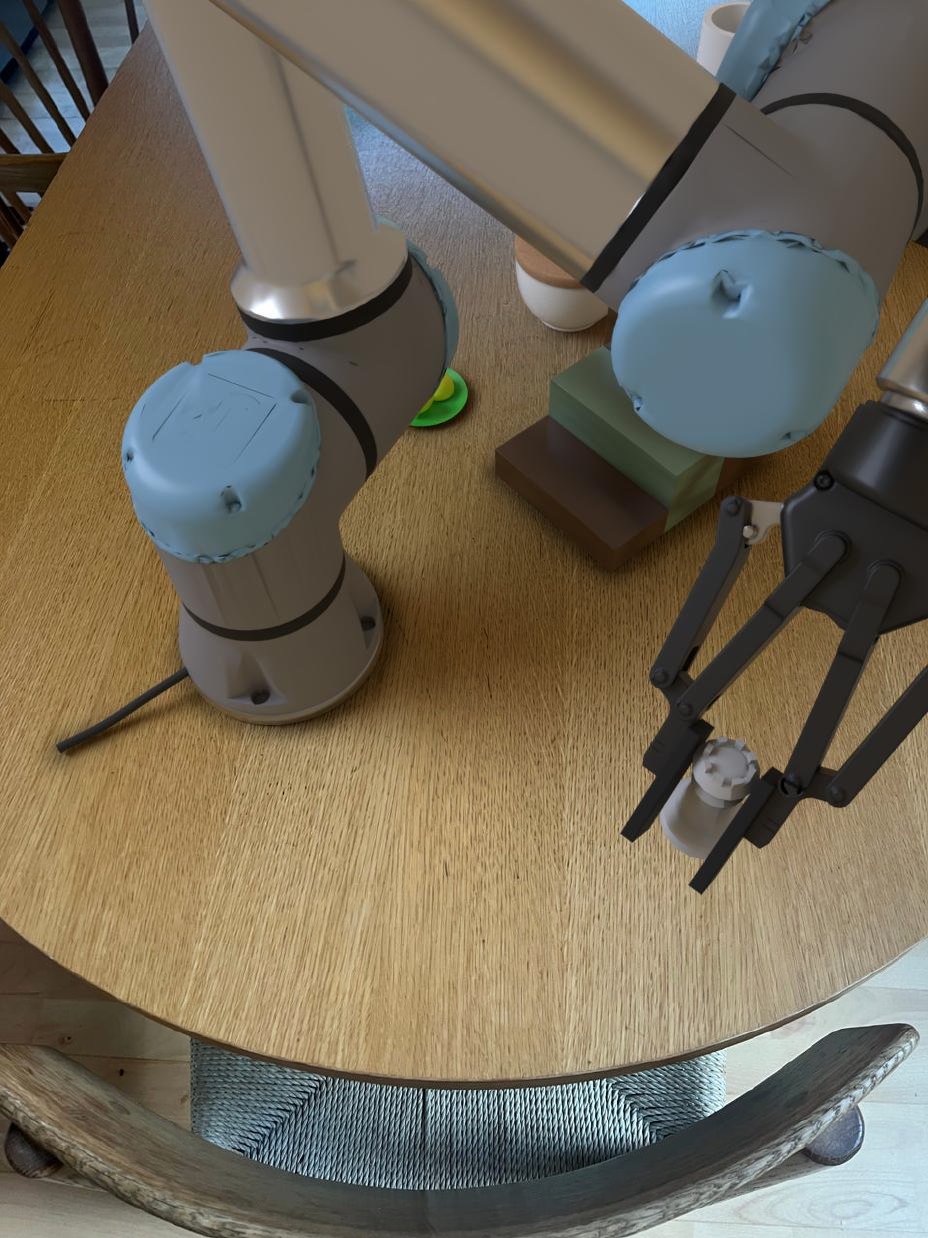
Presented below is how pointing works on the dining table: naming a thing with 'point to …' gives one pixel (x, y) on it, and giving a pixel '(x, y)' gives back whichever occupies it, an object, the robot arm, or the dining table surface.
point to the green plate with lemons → (443, 401)
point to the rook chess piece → (709, 795)
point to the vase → (719, 32)
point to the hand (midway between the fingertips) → (668, 855)
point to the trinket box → (554, 292)
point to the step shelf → (608, 465)
